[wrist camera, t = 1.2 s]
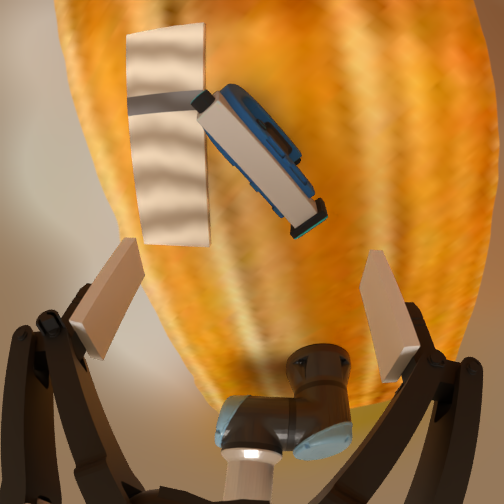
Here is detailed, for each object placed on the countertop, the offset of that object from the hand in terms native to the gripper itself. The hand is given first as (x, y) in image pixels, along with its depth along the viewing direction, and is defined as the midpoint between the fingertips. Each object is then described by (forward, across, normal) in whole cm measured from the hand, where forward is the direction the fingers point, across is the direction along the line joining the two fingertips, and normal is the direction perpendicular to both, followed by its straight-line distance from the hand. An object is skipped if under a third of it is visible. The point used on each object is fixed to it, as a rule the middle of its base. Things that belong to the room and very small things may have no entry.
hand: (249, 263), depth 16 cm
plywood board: (+30, +15, 0) cm, 34 cm away
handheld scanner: (+30, 0, -1) cm, 31 cm away
